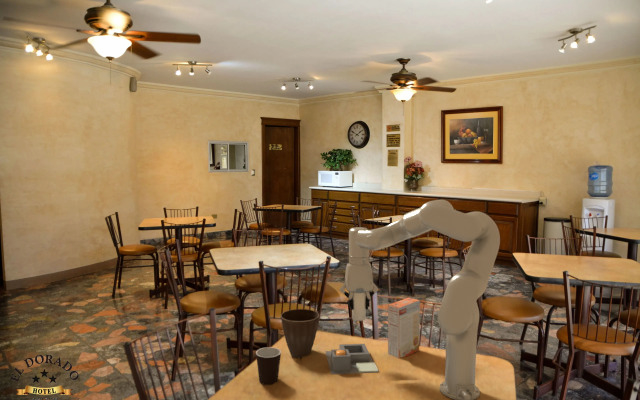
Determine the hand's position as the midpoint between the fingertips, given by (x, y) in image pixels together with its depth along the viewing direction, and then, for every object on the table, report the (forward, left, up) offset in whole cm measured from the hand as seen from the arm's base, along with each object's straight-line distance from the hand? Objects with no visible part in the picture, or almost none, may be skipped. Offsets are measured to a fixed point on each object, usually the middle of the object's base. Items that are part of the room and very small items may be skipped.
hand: (359, 308), depth 174 cm
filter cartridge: (0, 0, -4) cm, 4 cm away
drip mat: (-7, -2, -21) cm, 22 cm away
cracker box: (+7, -19, -21) cm, 30 cm away
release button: (-6, +8, -18) cm, 20 cm away
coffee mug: (-10, +33, -21) cm, 40 cm away
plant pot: (+9, +22, -21) cm, 31 cm away
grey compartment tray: (-1, +3, -21) cm, 21 cm away
